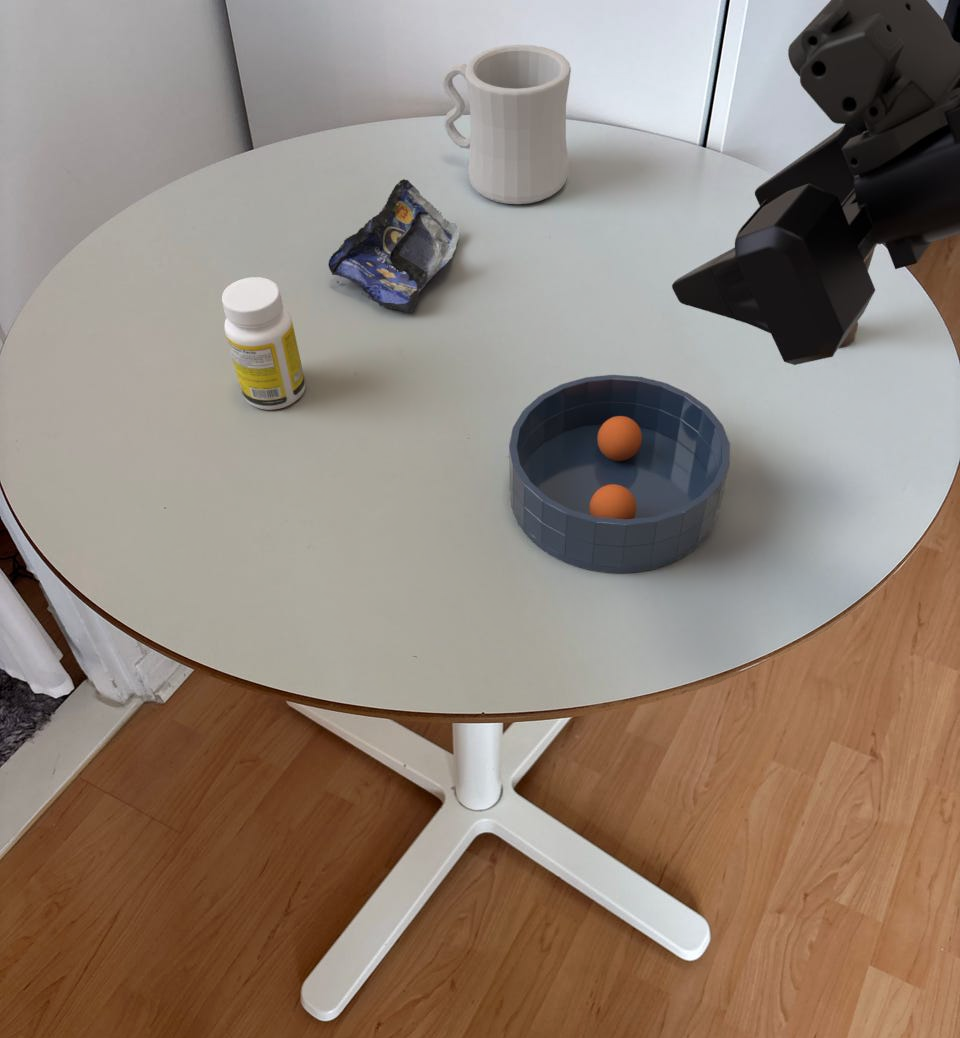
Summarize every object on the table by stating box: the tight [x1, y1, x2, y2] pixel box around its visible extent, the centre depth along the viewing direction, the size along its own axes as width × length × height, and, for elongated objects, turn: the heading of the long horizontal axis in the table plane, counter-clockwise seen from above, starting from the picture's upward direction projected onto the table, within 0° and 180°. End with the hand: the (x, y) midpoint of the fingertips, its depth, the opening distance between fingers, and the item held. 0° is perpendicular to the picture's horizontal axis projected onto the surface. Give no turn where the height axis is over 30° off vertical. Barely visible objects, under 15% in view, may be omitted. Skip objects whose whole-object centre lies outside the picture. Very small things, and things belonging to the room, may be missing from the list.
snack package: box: [328, 178, 460, 314], centre depth 84 cm, size 12×6×12 cm
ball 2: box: [589, 484, 636, 519], centre depth 65 cm, size 3×3×3 cm
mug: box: [441, 44, 572, 205], centre depth 90 cm, size 12×9×10 cm
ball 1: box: [597, 416, 642, 461], centre depth 69 cm, size 3×3×3 cm
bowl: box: [508, 374, 731, 574], centre depth 67 cm, size 14×14×4 cm
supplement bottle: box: [221, 276, 306, 411], centre depth 73 cm, size 5×5×8 cm
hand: (719, 243), depth 53 cm, fingers open, 9 cm apart
